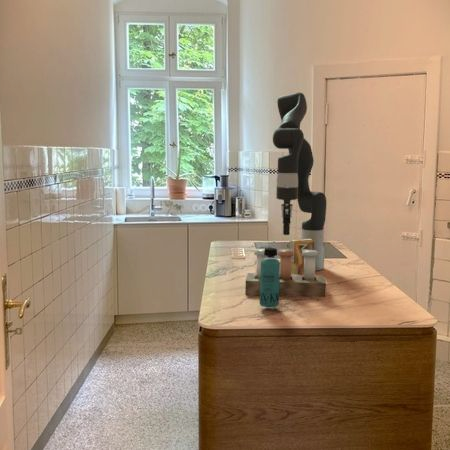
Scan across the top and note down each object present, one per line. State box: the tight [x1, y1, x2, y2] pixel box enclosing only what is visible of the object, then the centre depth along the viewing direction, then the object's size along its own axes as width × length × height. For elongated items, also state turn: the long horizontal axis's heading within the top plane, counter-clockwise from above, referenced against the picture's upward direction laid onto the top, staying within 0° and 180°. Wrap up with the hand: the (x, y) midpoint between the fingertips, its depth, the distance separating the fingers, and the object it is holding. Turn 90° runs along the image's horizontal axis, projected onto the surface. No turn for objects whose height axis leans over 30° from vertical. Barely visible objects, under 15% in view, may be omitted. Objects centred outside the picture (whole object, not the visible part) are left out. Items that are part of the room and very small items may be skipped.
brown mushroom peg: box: [277, 248, 294, 280], centre depth 192 cm, size 6×6×10 cm
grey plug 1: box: [254, 248, 268, 279], centre depth 193 cm, size 6×6×10 cm
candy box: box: [289, 238, 314, 275], centre depth 214 cm, size 9×4×15 cm, turn 110°
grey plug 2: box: [302, 250, 318, 281], centre depth 191 cm, size 6×6×10 cm
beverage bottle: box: [258, 247, 280, 308], centre depth 171 cm, size 6×7×20 cm
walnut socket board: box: [244, 272, 327, 298], centre depth 193 cm, size 28×12×5 cm, turn 84°
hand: (286, 234), depth 191 cm, fingers closed
